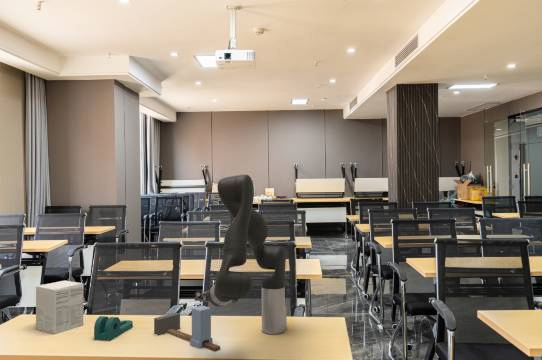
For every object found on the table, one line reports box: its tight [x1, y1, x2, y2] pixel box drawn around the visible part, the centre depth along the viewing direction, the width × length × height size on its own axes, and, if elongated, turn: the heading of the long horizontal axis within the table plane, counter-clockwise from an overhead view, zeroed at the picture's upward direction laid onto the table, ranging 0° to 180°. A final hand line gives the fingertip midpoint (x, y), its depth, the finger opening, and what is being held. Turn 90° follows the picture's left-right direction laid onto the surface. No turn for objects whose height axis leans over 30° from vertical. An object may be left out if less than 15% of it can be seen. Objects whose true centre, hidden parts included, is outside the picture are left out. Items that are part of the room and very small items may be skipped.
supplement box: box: [35, 279, 84, 335], centre depth 171 cm, size 13×13×18 cm
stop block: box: [153, 312, 181, 336], centre depth 164 cm, size 10×3×6 cm, turn 138°
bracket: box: [93, 315, 134, 342], centre depth 163 cm, size 18×7×8 cm, turn 168°
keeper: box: [189, 305, 214, 349], centre depth 150 cm, size 6×5×13 cm
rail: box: [166, 328, 221, 352], centre depth 153 cm, size 2×29×1 cm, turn 48°
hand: (212, 299), depth 147 cm, fingers open, 8 cm apart
